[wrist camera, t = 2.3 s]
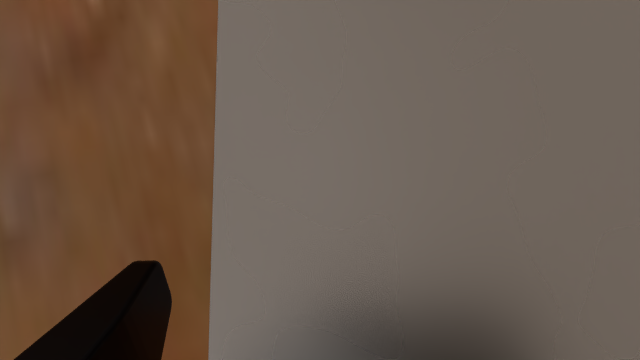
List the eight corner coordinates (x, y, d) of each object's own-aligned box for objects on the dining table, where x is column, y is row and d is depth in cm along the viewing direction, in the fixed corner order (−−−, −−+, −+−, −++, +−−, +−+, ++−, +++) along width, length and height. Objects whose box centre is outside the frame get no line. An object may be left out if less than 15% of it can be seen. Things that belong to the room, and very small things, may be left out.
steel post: (457, 298, 17) (851, 357, 4) (317, 300, 18) (207, 365, 4) (447, 162, 18) (728, -182, 5) (315, 166, 19) (222, -148, 5)
